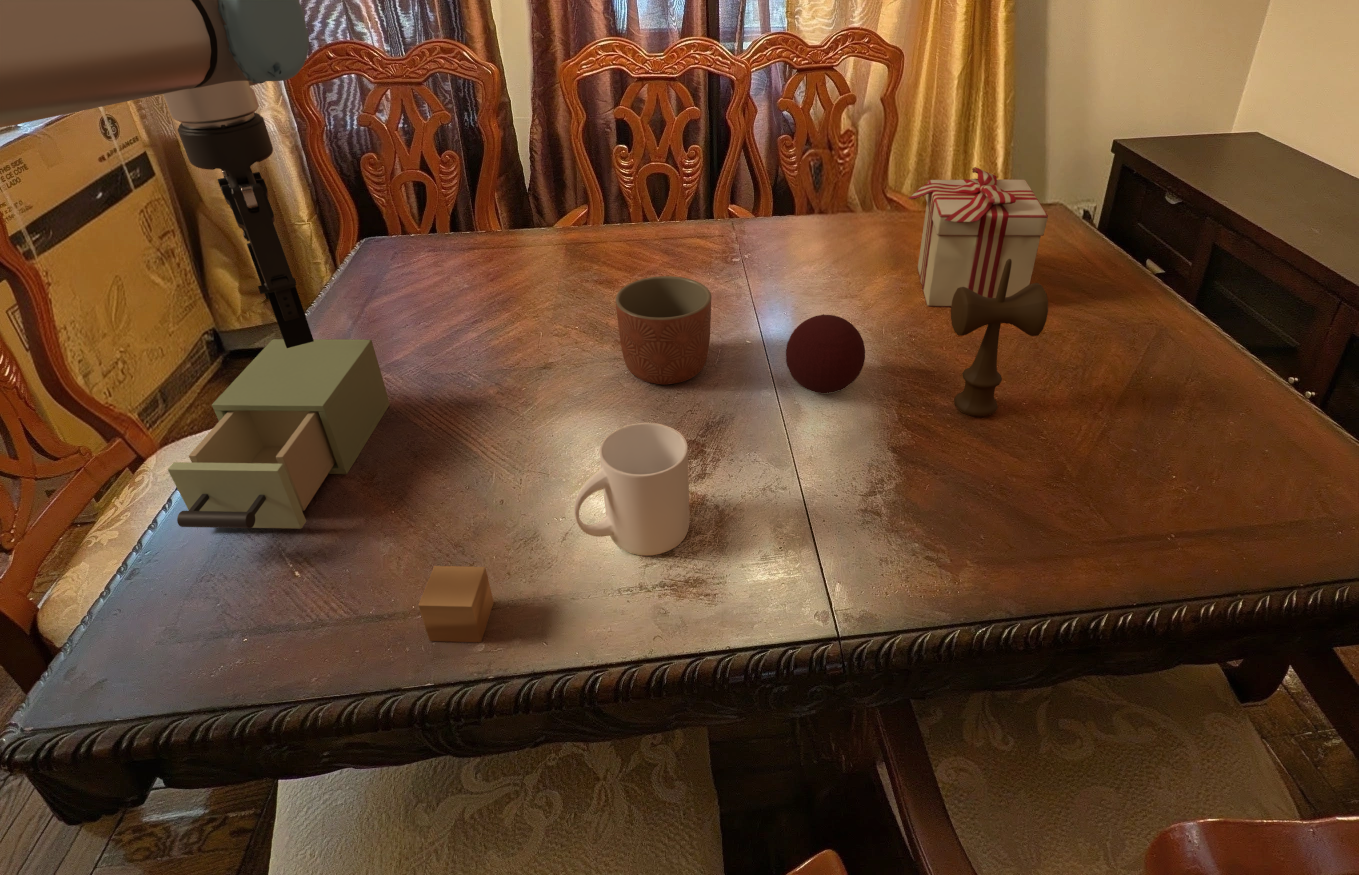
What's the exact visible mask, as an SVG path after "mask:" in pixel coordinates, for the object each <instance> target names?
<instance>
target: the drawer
mask: <svg viewBox="0 0 1359 875" xmlns="http://www.w3.org/2000/svg"><path fill="white" fill-rule="evenodd" d="M188 458H189V460H190V461H189V462H186V461H185V462H181V461H180V462H179V461H174V462H172V463H171V465H170V466H169V467H168V468H167V472H168V473H169V475H170V478H171V479H172V481H173V483H174V485H175V487H176V489H177V491H178V492H179V495H180V497H181V499H182V501H183V503H184V504H185V506H186V508H187V510H181V511H180V512H179V513H178V514H177V519H176V521H177V525H178V527H181V528H211V529H212V528H214V529H217V528H219V529H296V530H297V529H303V527H304V526H305V524H306V522H307V520H306V517H305V514H304V512H303V511H305V510H306V509H307V507H309V506H308V505H309V504H310V503H311V501H312V500H313V498H314V497H315V495H316V493H317V492H318V490H319V488H320V487H321V486H322V484H323V483H324V481H325V479H326V478H327V477H328V475H329V474H328V473H329V471H330V470H331V468H332V467H333V465H334V464H335V462H336V460H335V457H334V454H333V451H332V448H331V445H330V443H329V440H328V437H327V434H326V431H325V429H324V426H323V423H322V420H321V417H320V414H319V411H228V412H227V413H226V414H225V415H224V417H223V418H222V419H221V420H220V421H219V420H218V422H217V423H216V424H215V425H214V426H213V428H212V429H211V430H210V431H209V432H208V433H207V434H206V436H204V438H203V439H201V441H200V442H199V443H198V445H197V446H195V448H194V449H193V450H192V451H191V452H190V453H189V454H188Z"/></svg>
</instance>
